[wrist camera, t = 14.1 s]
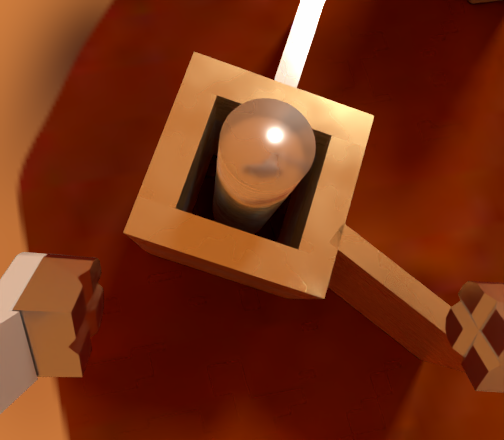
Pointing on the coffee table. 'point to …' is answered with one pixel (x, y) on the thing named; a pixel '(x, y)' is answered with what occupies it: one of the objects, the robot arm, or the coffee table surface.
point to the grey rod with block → (481, 1)
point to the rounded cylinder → (260, 162)
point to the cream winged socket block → (299, 208)
